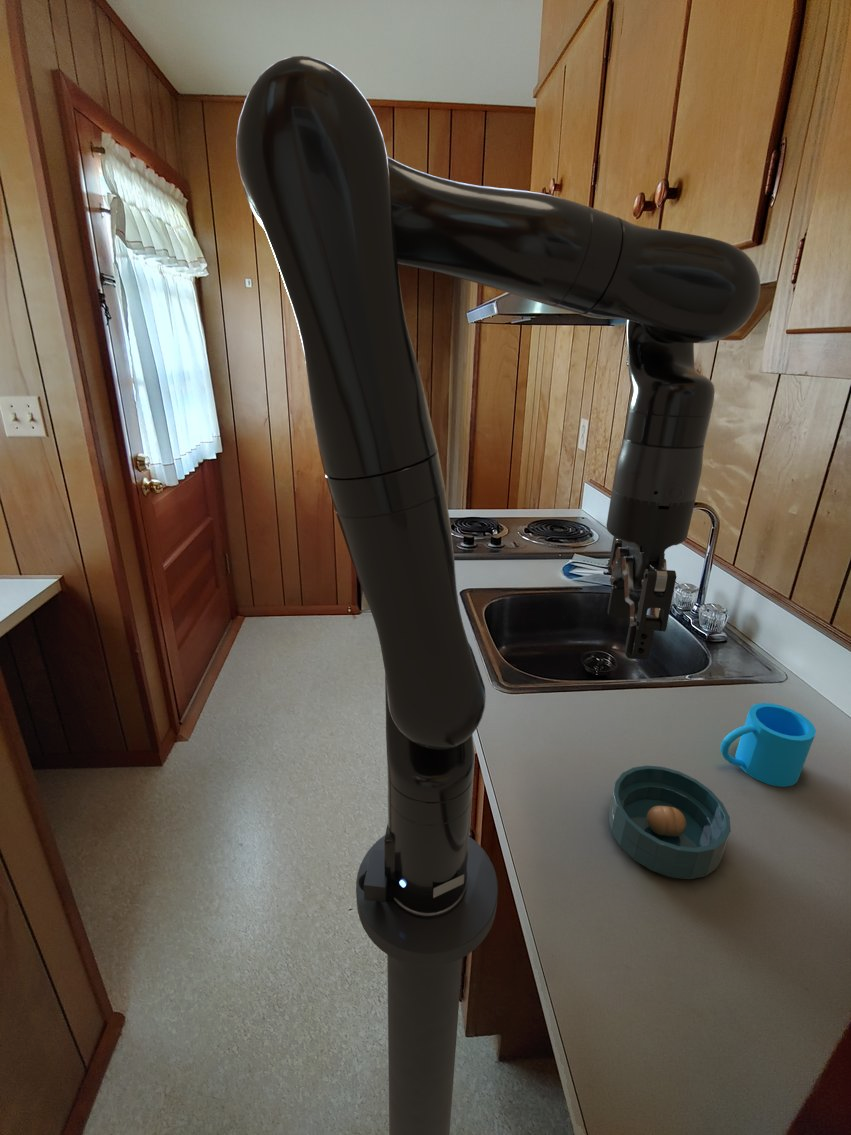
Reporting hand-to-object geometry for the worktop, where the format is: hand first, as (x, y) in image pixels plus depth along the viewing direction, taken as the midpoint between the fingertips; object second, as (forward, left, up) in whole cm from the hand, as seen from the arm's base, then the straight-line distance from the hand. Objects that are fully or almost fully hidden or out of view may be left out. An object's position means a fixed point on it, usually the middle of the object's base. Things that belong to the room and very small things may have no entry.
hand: (625, 635), depth 59 cm
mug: (+26, +14, -28) cm, 41 cm away
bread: (+9, 0, -28) cm, 29 cm away
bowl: (+9, 0, -28) cm, 30 cm away
